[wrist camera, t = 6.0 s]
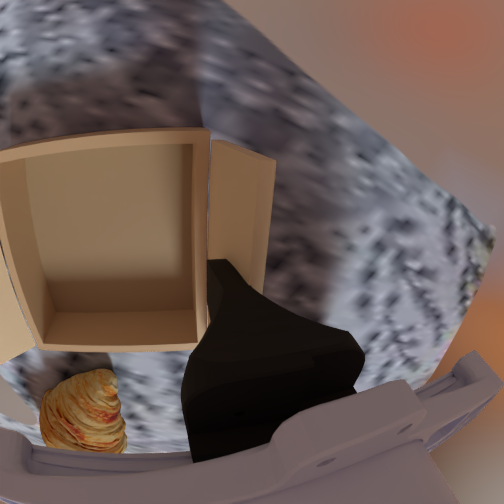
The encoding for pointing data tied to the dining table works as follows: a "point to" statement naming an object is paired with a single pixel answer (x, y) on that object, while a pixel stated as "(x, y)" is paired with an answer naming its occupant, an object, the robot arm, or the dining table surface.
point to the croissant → (84, 414)
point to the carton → (109, 238)
